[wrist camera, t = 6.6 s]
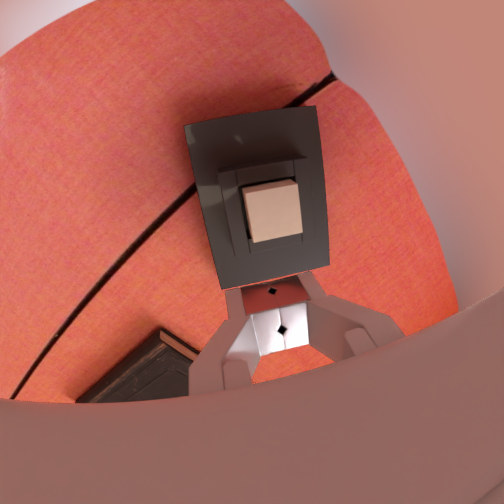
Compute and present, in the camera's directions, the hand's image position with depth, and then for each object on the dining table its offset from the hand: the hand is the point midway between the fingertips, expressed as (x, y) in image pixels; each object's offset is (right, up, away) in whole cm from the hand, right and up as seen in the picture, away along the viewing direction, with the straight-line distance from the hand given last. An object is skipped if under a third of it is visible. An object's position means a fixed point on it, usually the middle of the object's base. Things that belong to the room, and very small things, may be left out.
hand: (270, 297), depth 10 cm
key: (+1, +5, +11) cm, 12 cm away
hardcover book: (-14, -18, +24) cm, 33 cm away
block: (0, +6, +14) cm, 16 cm away
